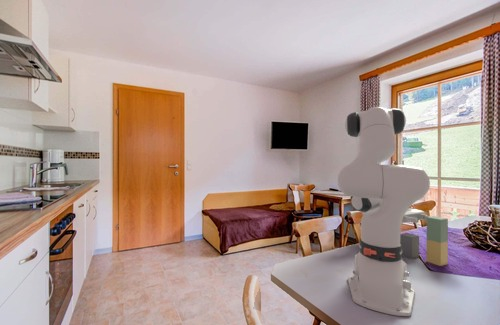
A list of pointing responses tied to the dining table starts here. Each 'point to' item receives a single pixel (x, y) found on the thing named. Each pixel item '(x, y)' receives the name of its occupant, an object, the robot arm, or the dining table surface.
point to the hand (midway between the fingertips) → (424, 219)
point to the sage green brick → (437, 229)
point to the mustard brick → (437, 252)
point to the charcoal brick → (409, 245)
